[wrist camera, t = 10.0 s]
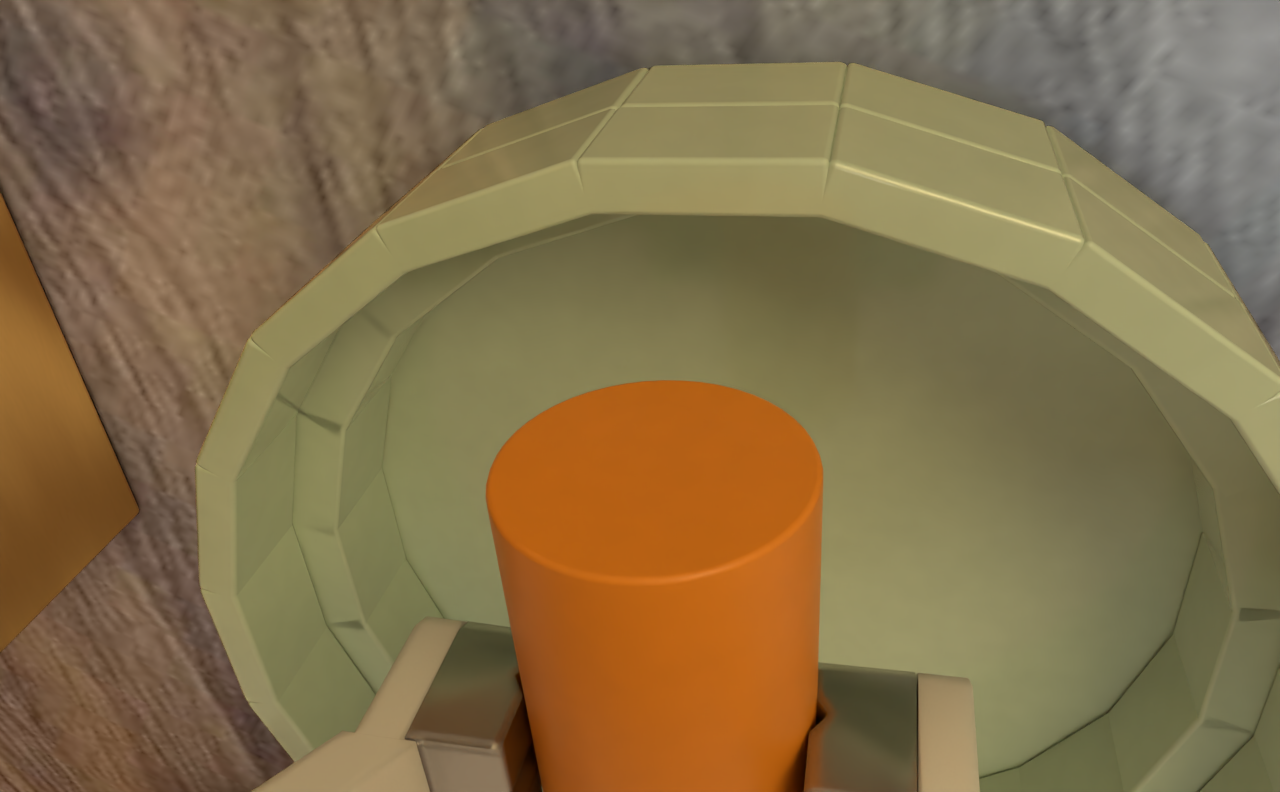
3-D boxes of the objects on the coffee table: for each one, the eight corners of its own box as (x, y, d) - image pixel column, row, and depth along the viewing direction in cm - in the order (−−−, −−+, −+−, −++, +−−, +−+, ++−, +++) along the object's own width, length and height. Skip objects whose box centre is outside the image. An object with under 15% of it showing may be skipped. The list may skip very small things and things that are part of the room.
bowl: (215, 63, 15) (14, 158, 11) (1457, 34, 11) (1685, 159, 8) (421, 761, 23) (341, 931, 20) (1169, 870, 19) (1221, 1100, 16)
